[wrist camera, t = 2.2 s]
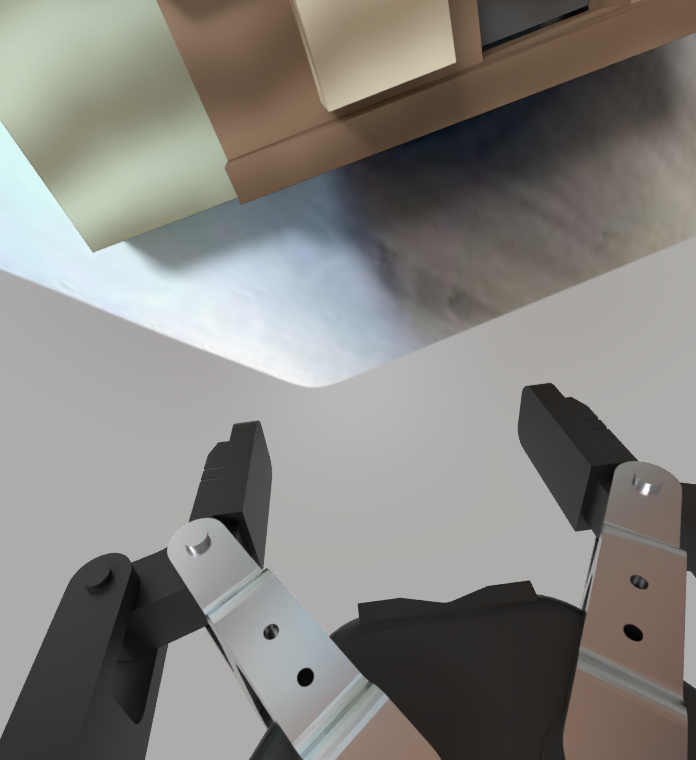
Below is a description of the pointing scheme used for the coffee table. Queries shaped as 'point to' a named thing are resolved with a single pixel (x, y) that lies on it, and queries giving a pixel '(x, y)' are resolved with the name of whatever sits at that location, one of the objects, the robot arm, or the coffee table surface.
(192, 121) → the channel deck
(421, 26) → the birch block
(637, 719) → the robot arm
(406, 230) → the coffee table surface
